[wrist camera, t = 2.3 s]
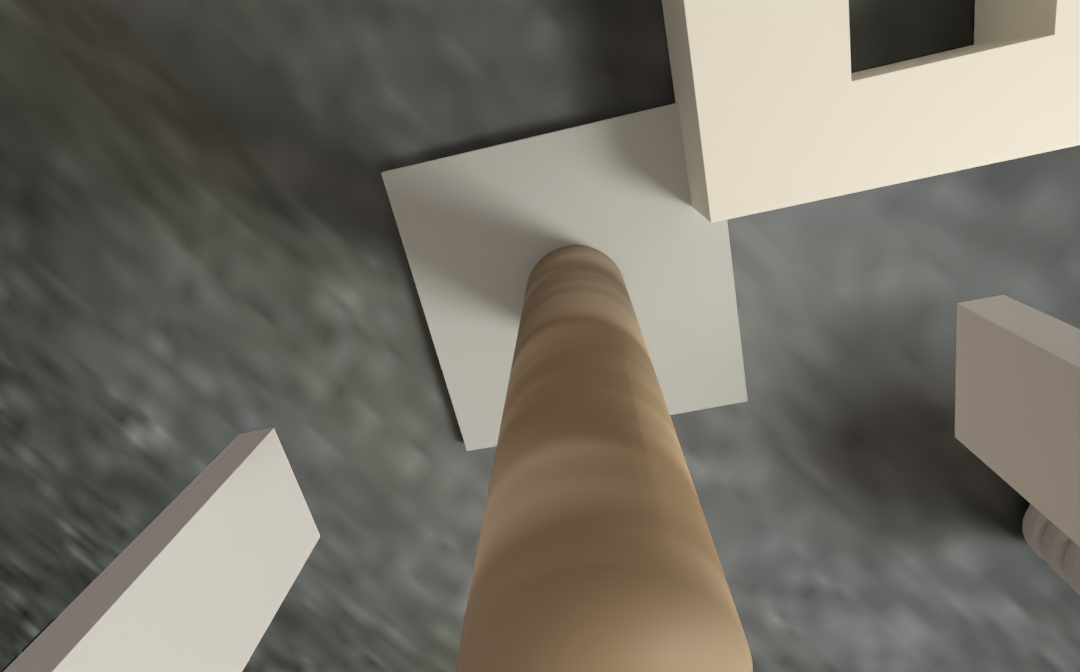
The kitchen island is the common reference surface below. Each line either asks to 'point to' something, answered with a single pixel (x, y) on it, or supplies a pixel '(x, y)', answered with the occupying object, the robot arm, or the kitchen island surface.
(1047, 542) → the light bulb
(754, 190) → the hole block
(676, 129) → the mat
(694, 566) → the dowel
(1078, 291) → the kitchen island surface
